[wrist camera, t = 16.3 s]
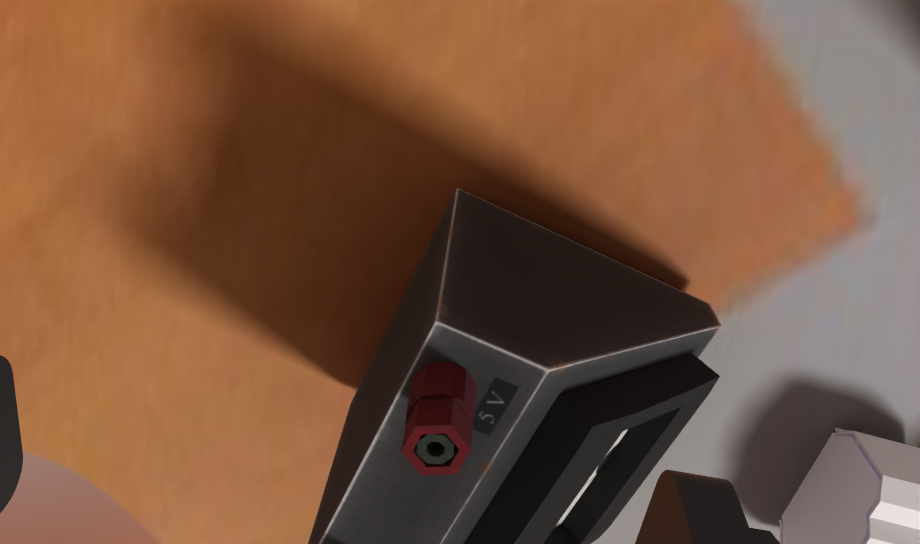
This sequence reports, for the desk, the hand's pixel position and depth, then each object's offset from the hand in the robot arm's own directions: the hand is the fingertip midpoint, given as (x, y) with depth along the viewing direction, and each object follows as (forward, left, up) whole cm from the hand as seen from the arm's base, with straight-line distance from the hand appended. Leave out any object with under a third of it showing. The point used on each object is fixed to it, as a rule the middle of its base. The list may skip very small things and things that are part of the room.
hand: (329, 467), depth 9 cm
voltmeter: (-6, +18, -34) cm, 39 cm away
